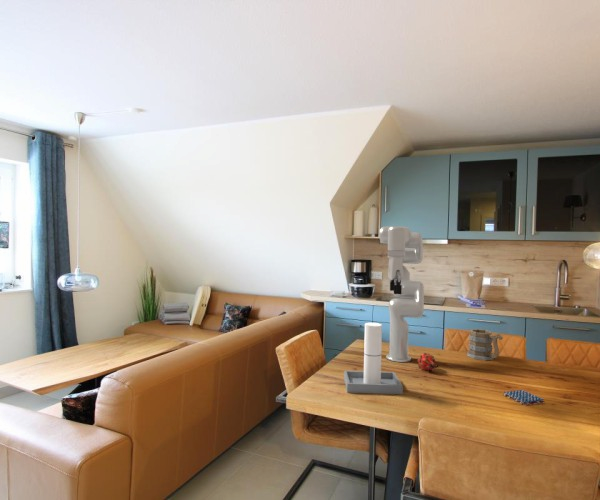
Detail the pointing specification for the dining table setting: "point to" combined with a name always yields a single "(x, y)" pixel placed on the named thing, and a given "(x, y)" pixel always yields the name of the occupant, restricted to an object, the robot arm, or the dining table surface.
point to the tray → (357, 385)
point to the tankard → (483, 344)
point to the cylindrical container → (372, 353)
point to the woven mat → (523, 397)
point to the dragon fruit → (427, 362)
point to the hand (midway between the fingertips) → (395, 292)
